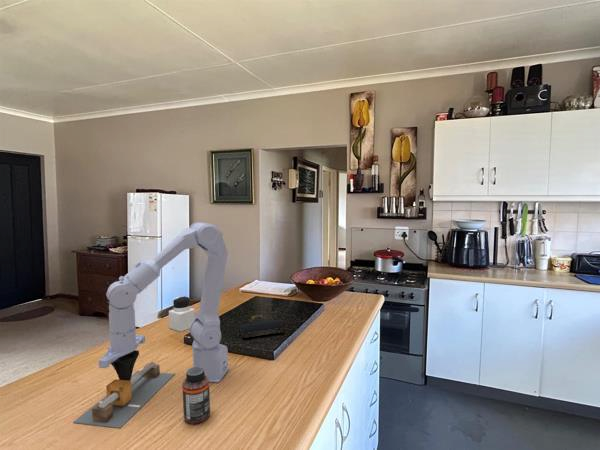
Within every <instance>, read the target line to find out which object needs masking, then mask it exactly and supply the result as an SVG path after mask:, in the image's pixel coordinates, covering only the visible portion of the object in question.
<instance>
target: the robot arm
mask: <svg viewBox="0 0 600 450" xmlns="http://www.w3.org/2000/svg"><path fill="white" fill-rule="evenodd" d="M223 234H224V233H223V232H222V231H221V230H220V229H219V228H218V227H217V226H216V225H215V224H213V223H205V222H201V221H195V222H193V223H192V224H191V225H190V226H189V227H187V228H185V229H184V230H182V231H181V232H180V233H179V234H178V235H177V236H176V237H175V238H173V240H171V241H170V243H168V244H167V245H166V246H165V247H163V249H161V250H160V251H159V252H158V253H157V254H156V255H155V256H154V257H152V259H143V260H142V261H141V262H140V261H137V262H135V263H134V266H135V267H133V268H132V269H131V270H129V271H128V273H126V274H125V275H124V276H123V275H120V276H119V278H118V280H117V281H114V282H113V283H111V284H110V285H109V286H108V288H107V291H106V292H105V294H106V295H105V296H106V298H107V300H108V302H109V305H108V310H109V312H108V323H109V324H108V325H109V326H108V327H109V343H110V345H108V346H107V352H106V353H104V355H103V356H102V357H101V358H99V359H98V368H99V369H108V368H109V367H110V365H111V366H112V367H113V368H114V370H115V372H116V375H117V378H118V380H127V381H130V380H131V376H132V375H133V372H134V368H135V364H136V361H137V359H138V357H139V356H140V350H137V349H138V347H139V346H140V344H144V343H146V335H145V334H136V333H137V330H136V314H135V313H136V312H135V310H136V309H135V308H134V305H135V304H134V303H135V301H136V300H137V295H138V294H141V293H142V292H143V291H144V290H145V289H146V288H148V286H150V285H151V284H152V283H154V281H155V280H157V279H158V278H159V277H160V276H161V269H162V268H164V267H165V266H166V265H167V264H169V263H170V262H171V261H172V260H174V259H175V258H176V257H178V256H179V255H180V254H181V253H183V251H185V250H188V249H198V248H199V247H200V248H201V250H202V251H203V252H204V253H205V254H206V255H207V261H206V262H207V263H206V268H205V273H204V280H203V286H202V292H201V297H200V302H199V309H198V311H197V312H196V313H195V319H194V321H193V322H192V324H191V326H190V328H189V333H190V335H191V336H192V337H193V342H192V367H203V368H204V373H205V375H206V376H207V377H208V379H209V383H217V384H218V383H220V382H221V381H222V379H223V378H224V376H225V375H226V373H228V371H229V370H230V367H229V356H228V355H229V352H228V350H229V349H228V346H227V345H225V344H221V343H220V342H221V340H222V332H221V328H220V327H221V320H220V317H219V316H220V315H219V309H220V308H219V306H220V302H221V301H220V300H221V295H222V288H223V283H224V277H225V271H226V265H227V260H228V249H227V247H226V243H225V241H224V235H223Z"/></svg>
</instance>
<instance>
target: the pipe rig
mask: <svg viewBox="0 0 600 450" xmlns="http://www.w3.org/2000/svg"><path fill="white" fill-rule="evenodd" d="M174 376H176V374H175V373H171V372H161V370H160V364H159V363H158V364H156V363H155V362H153V361H150V363H147V364H145V365H144V366H143V367H142V369H141V370H136V371H135V372H134V373H132V376H131V380H130V381H131V395H132V399H130V400H129V401H128V402H127V403H126V404H125V405H124V406H122V405H112V403H113V402H114V401H116V400H117V399H118V398H119V397H120V392H119V391H115V392H114V393H112V394H111V395H110V396H109V397H107V394H106V395H105V396H104V397H103V398H101V399H100V400H99V401H97V402H96V403H95V404H94V405H93V406H91V407H90V408H88V409H87V410H86V411H85V412H84V413H83V414H81V415H80V416H79V417H77V418H76V419H75V420H74V421H73V422H72V423H73V424H80V425H88V426H97V427H105V428H114V429H122V428H123V427H124V426H125V424H127V423H128V422H129V421H130V420H131V418H133V417H134V416H135V415H136V413H138V412H139V411H140V410H141V409H142V408H143V407H144V406H145V405H146V404H147V403H148V402H149V401H150V400H151V399H152V398H153V397H154V396H155V395H157V393H158V392H159V391H160V390H161V389H162V388H163V387H164V386H165V385H167V383H168V382H169V381H170V380H171V379H172V378H173V377H174Z"/></svg>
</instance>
